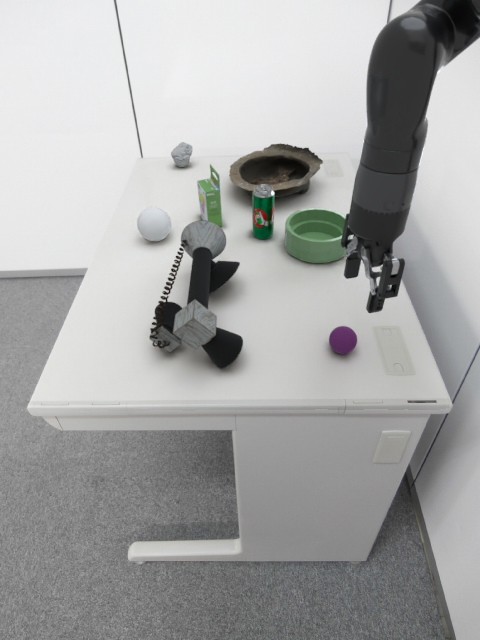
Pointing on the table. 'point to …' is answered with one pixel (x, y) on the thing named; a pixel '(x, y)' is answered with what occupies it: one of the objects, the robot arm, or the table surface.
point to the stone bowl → (276, 169)
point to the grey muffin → (182, 154)
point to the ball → (154, 223)
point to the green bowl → (315, 235)
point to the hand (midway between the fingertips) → (361, 293)
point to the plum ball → (343, 339)
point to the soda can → (263, 211)
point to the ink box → (210, 198)
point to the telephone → (198, 298)
